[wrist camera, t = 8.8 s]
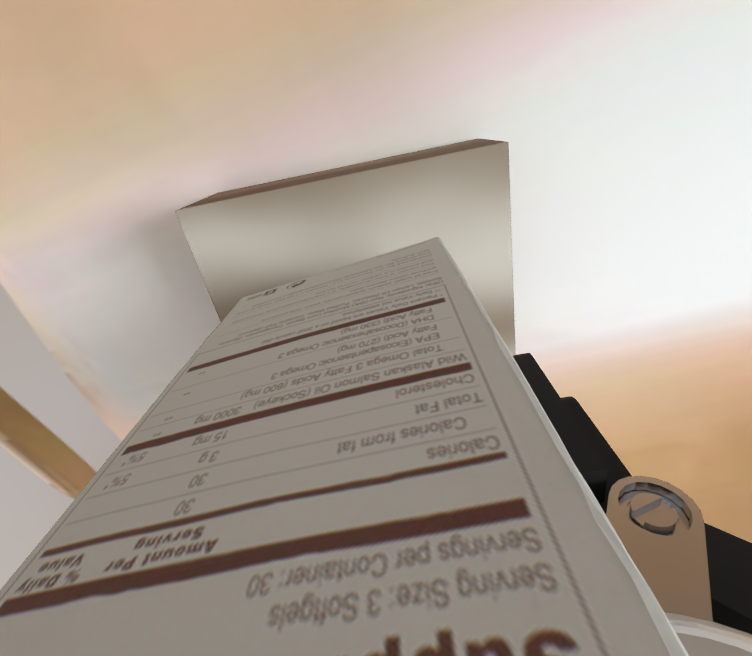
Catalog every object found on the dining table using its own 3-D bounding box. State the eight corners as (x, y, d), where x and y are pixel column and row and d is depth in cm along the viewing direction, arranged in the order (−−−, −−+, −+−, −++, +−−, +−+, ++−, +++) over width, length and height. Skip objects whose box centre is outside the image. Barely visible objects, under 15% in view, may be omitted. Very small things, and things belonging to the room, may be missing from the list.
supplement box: (484, 404, 16) (756, 1104, 4) (311, 444, 17) (178, 1097, 5) (445, 226, 12) (1074, 1154, 1) (234, 290, 13) (-489, 1118, 2)
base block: (217, 193, 18) (174, 211, 14) (478, 138, 17) (507, 142, 13) (291, 398, 23) (275, 451, 20) (493, 366, 22) (517, 416, 19)
